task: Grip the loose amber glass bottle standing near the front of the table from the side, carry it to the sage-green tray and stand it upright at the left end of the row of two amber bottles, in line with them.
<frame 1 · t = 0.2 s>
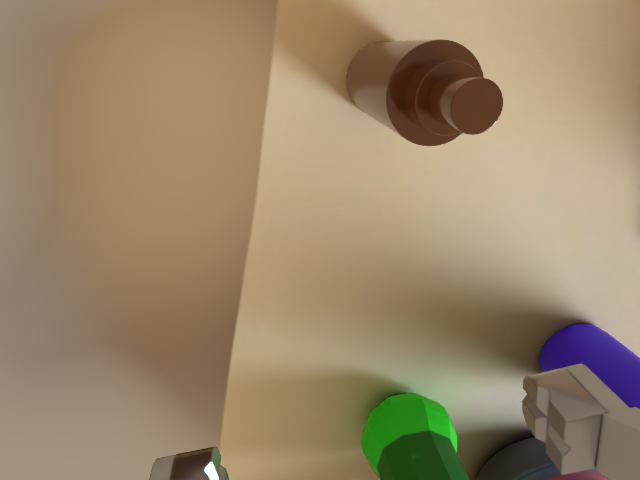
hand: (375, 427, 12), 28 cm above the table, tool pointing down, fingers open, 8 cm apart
amber bottle: (380, 79, 35), on the table
vase: (523, 471, 56), on the table
bottle: (570, 350, 49), on the table
plastic bottle: (397, 410, 49), on the table
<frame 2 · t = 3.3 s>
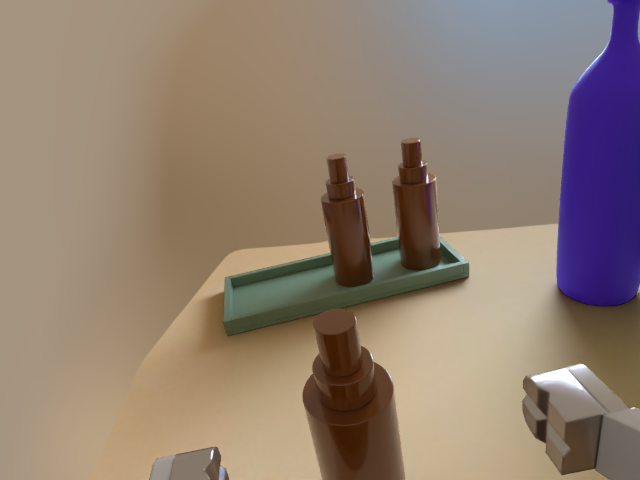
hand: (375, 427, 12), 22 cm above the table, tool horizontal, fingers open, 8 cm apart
row bottle 2: (420, 260, 62), resting on tray
row bottle 1: (354, 276, 61), resting on tray
tray: (341, 283, 61), on the table
bottle: (595, 288, 51), on the table
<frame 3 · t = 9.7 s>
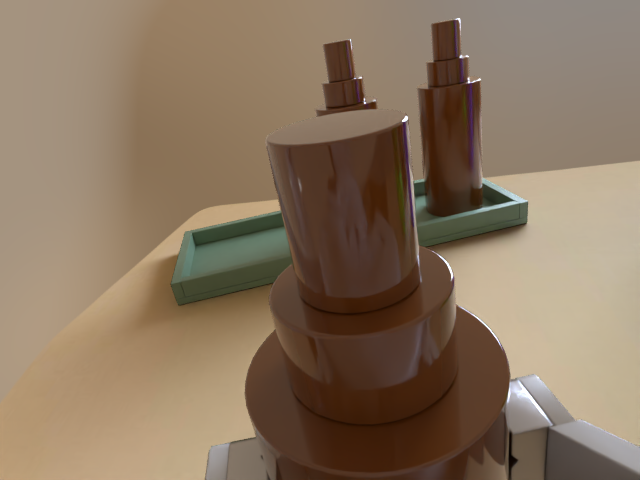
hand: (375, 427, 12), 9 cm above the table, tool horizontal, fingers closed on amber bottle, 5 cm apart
row bottle 2: (453, 206, 45), resting on tray
row bottle 1: (363, 227, 44), resting on tray
tray: (344, 237, 44), on the table
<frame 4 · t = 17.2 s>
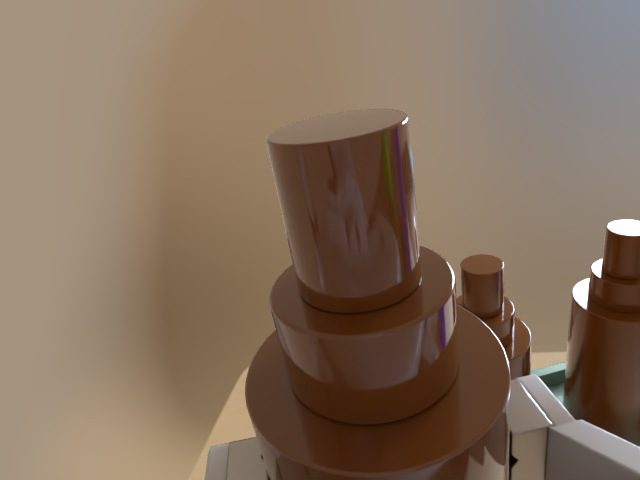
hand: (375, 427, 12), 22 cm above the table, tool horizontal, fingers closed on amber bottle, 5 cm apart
row bottle 2: (602, 429, 34), resting on tray
row bottle 1: (485, 463, 33), resting on tray
tray: (460, 475, 33), on the table
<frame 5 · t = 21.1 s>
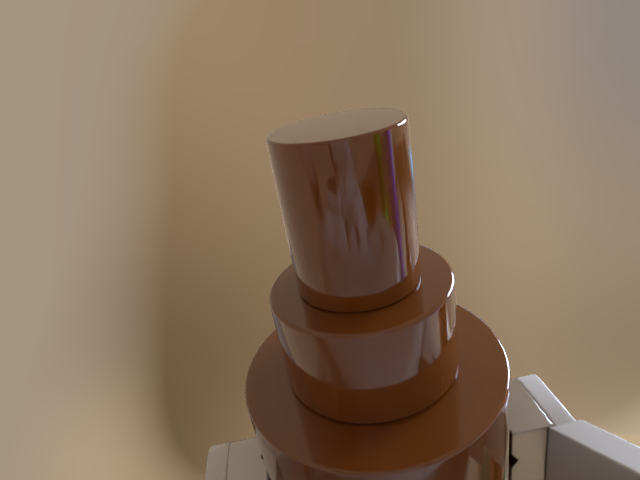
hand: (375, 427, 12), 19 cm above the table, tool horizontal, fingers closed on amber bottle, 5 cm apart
when the fingers open (10 cm above the table, at t = 24.7 s): amber bottle stays where it is, resting on tray.
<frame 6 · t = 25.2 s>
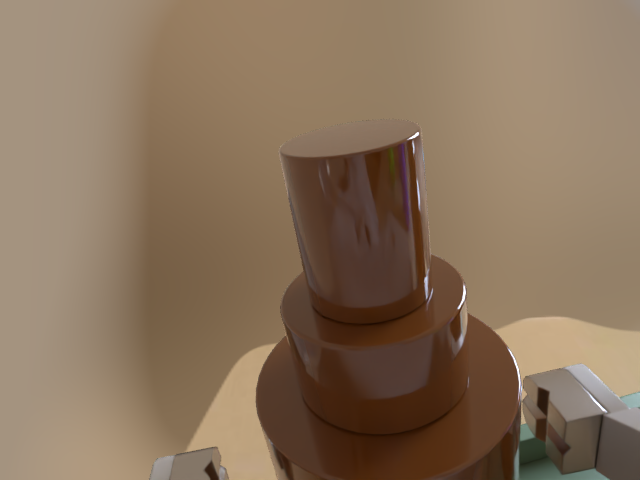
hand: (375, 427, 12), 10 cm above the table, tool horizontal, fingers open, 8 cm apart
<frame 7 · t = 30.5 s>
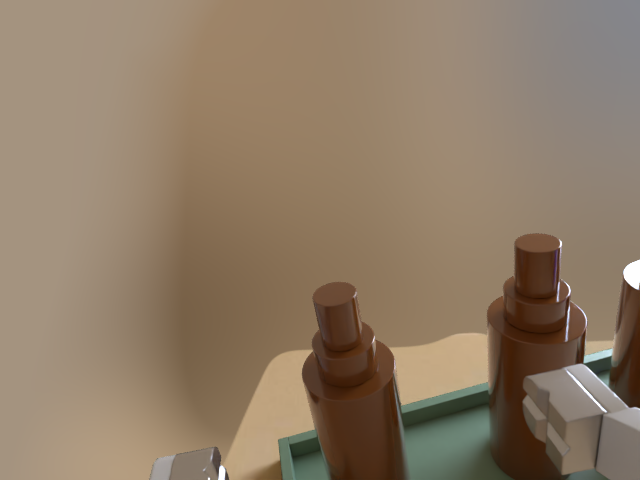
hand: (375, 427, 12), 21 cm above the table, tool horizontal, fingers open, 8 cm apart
row bottle 1: (530, 451, 32), resting on tray
tray: (504, 465, 32), on the table
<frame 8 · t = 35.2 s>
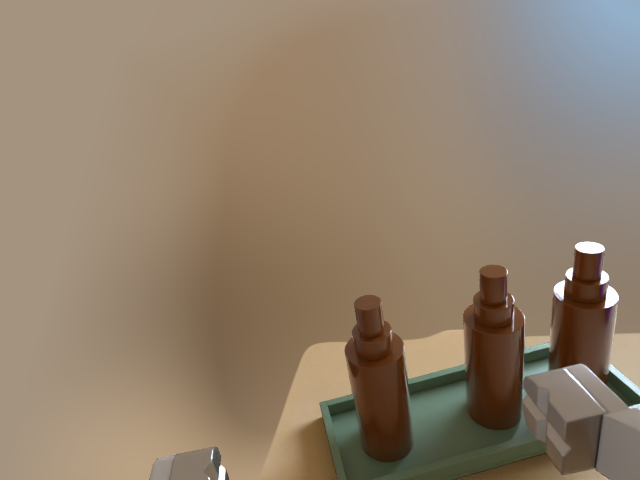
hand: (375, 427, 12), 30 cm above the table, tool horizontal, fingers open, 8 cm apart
amber bottle: (387, 439, 46), point 1 cm above the table, touching tray
row bottle 2: (575, 386, 48), resting on tray
row bottle 1: (493, 409, 47), resting on tray
tray: (476, 418, 47), on the table
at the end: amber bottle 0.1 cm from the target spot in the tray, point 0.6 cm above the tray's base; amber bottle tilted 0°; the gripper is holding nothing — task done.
